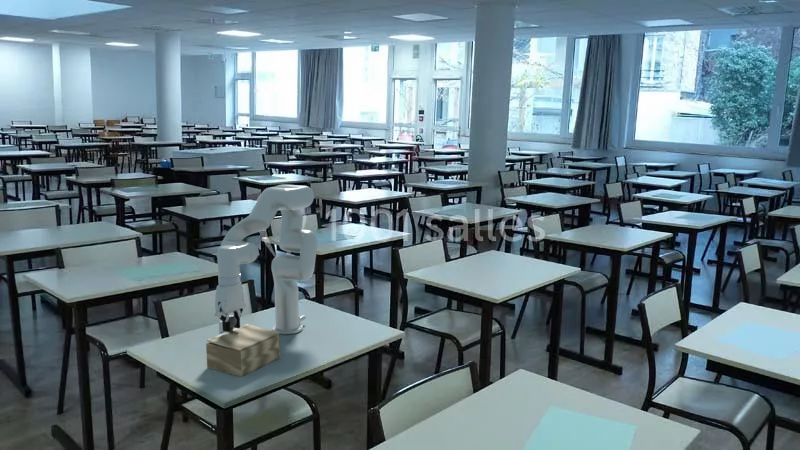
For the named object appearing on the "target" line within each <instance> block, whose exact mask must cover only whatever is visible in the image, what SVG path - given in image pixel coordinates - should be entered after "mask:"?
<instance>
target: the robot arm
mask: <svg viewBox="0 0 800 450" xmlns="http://www.w3.org/2000/svg"><path fill="white" fill-rule="evenodd" d="M314 198H315V194H314V191H313V189H312V188H311V187H310V186H307V185H297V184H296V185H295V184H278V185H277V186H274V187H266V188H265V189H264V190H263V191H262V192H261V193H260V195H259V197H258V199H257V201H256V203H255V204H254V205H253V206H254V207H253V208H252V209H251V211H250V213H249V215H248V216H246V217H245V218H243V219H241V220H240V221H239V222H237V223H236V224H234V225H233V226H232V227H231V228H229V230H228V231H227V233H226V235H225V236H224V237H223V240H222V241H221V244H220V246H219V247H217V250H216V255H217V256H216V258H217V277H218V285H216V288H215V295H214V296H215V297H214V300H215V301H214V305H215V306H214V307H215V308H214V309H215V314H214V316H215V317H216V318H218V319H219V320H220V321H222V325H223V331H225V332H230V321H229V315H230V313H232V315H234V316H232V317H235V318H236V320H237V324H236V325H235V326H234V327H235V328H240V326H241V317H242V314H243V312H244V309H245V308H246V306H247V304H246V303H245V296H244V290H243V289H244V288H243V285H242V284H243V283H242V282H241V278H242V274H241V266H240V265H243V264H250V263H253V262H255V261H256V260H257V259H258V258H259V255H260V254H259V253H260V252H259V251H260V250H259V248H258V246H257V244H255V243H252V242H249V241H242V240H244V239H245V238H247V237H248V236H250V235H253V234H256V233H259V232H262V231H265V230H267V229H268V228H269V227H270V225H271V224H272V222H273V220H274V218H275V216H276V215H277V213H278V212H279V210H280V214H281V223H280V224H281V225H280V231H279V237H278V247H279V248H280V250H283V251H285V252H290V253H296V254H297V253H299V255H291V254H279V255H276V256H275V257H274V258H273V259H272V261H271V272H272V278H273V284H274V285H273V286H274V308H275V309H274V312H275V324H274V325H272V326H271V331H275V332H278V333H279V335H292V334H293V335H294V334H297V333H300V332H302V331H303V329H304V328H303V327H304V326H303V324H302V321H304V320H306V317H307V316H305V315H301V316H300V313H299V312H300V305H299V303H300V302H299V286H298V282H297V281H302V282H303V281H304V282H305V281H309V280H310V279H311V278H312V276H313V274H314V272H315V264H316V258H317V250H318V239H317V235H316V233H315V232H314V231H312V230H310V229H303V221H304V217H303V213H302V210H301V209H305V208H308V207H310V206H311V205H312V204H313V202H314Z"/></svg>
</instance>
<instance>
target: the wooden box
mask: <svg viewBox="0 0 800 450" xmlns="http://www.w3.org/2000/svg"><path fill="white" fill-rule="evenodd" d="M280 335H281V334H279V335H276V336H274V337H272V338H269V339H267V340H265V341H263V342H260V343H258V344H256V345H253V346H251V347H249V348H247V349H244V350H242V351H237V350H234V349H230V348H227V347H224V346H221V345H217V344H214V343H211V342H208V341H207V342H206V343H205V346H206V367H207V368H208V369H211V370H215V371H218V372H221V373H223V374H224V373H225V374H228V375H231V376H235V377H239V378H242V377H245V376H247V375H249V374H251V373H252V372H255V371H257V370H259V369H261V368H263V367H265V366H267V365H269V364H272V363H273V362H275V361H277V360H279V359H281V340H280V339H281V337H280Z"/></svg>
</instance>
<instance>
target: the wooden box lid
mask: <svg viewBox="0 0 800 450" xmlns="http://www.w3.org/2000/svg"><path fill="white" fill-rule="evenodd" d="M229 321H230V332H225V333H222V334H219V333H218V334H217V335H215V336H212V337H209V338H207V339H206V341H207V343H208V342H211V343H214V344H217V345H221V346H224V347H227V348H230V349H234V350H237V351H242V350H244V349H247V348H249V347H251V346H253V345H256V344H258V343H260V342H263V341H265V340H267V339H269V338H272V337H274V336H276V335H280V334H279V333H278V332H275V331H272V329H271V330H270V329H266V328H263V327H260V326H256V325H253V324H250V323H246V324H243V325H240V328H235V329H233V327H234V326H235V325H236V324H237V320H236V318H235V317H232V316H230V317H229Z"/></svg>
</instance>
